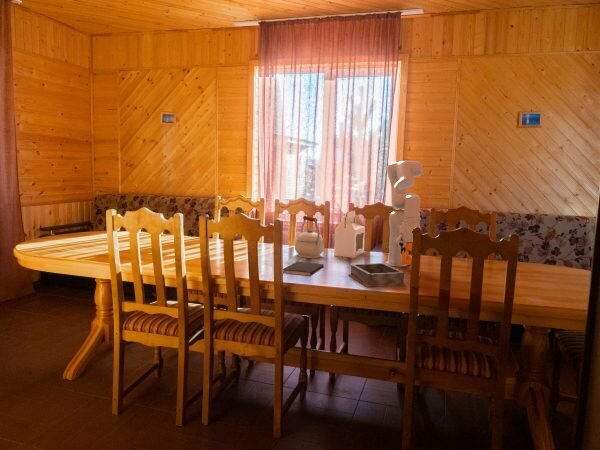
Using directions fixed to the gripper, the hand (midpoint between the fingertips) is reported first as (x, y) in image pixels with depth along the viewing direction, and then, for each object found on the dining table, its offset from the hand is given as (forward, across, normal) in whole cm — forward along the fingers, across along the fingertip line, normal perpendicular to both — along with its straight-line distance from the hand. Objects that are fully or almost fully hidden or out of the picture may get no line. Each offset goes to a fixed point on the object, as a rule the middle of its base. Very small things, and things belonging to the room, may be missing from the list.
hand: (409, 254), depth 239 cm
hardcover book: (+14, +48, -29) cm, 57 cm away
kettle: (+15, +32, -64) cm, 73 cm away
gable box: (+15, +4, -68) cm, 70 cm away
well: (+12, +18, +1) cm, 22 cm away
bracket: (+5, -1, 0) cm, 5 cm away
